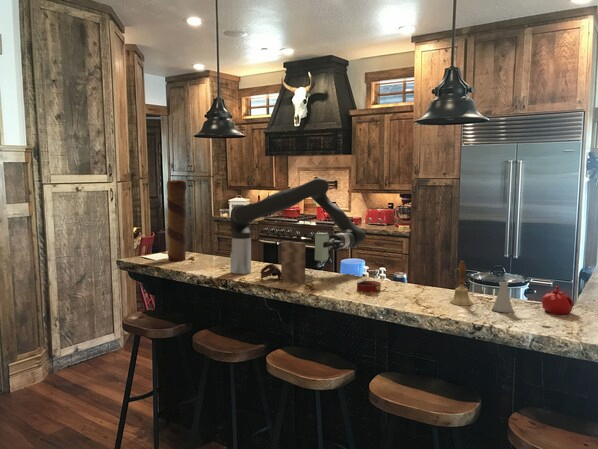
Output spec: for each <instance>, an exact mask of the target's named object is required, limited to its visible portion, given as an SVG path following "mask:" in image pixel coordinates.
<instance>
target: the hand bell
mask: <svg viewBox="0 0 598 449" xmlns="http://www.w3.org/2000/svg"><path fill="white" fill-rule="evenodd" d="M466 269H467V268H466V264H465V261H464V260H460V262H459V265H458V270H457V271H458V275H459V282H458V283H459V286H458V287H456V288H455V290H454V294H453V297H452V298H451V299H450V300H449V303H450V304H452V305H455V306H463V307H464V306H465V307H466V306H467V307H469V306H472V305H473V304H474V302H473V301H472V299H471V298H470V296H469V290H468V288H466V287H465V277H466V276H465V275H466Z"/></svg>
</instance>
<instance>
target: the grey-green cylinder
mask: <svg viewBox="0 0 598 449" xmlns="http://www.w3.org/2000/svg"><path fill="white" fill-rule="evenodd" d="M329 234H330V233H328V232H315V234H314V242H315V246H314V261H317V262H318V261H320V262H323V261H328V260H329V247H326V248H324V247H323V243H324V242H328V241H329V236H330V235H329Z"/></svg>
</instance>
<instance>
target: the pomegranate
mask: <svg viewBox="0 0 598 449" xmlns="http://www.w3.org/2000/svg"><path fill="white" fill-rule="evenodd" d="M559 289H560V286H558V285H556V286H555V288H553V290H549V289H547V290H545V291H546V292H548V293H546V294H544V295H543V296H542V299H541V305H542V308H543V310H544V311H546V312H548V313H549V314H553V315H568V314H570V313H571V312H572V311H573V308H574V300H573V299H572V298H571V297H570V296H569V295H568V291H565V290H562V291H560V290H559Z"/></svg>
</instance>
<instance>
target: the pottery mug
mask: <svg viewBox="0 0 598 449" xmlns="http://www.w3.org/2000/svg"><path fill="white" fill-rule="evenodd" d="M276 276H277V279H281V269H280V268H279V267H278V266H277V265H275V264H274V263H270V264H267V265H265V266H264V267H263V268H261V270H260V279H261V280H264V278H268V277H276Z"/></svg>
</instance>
